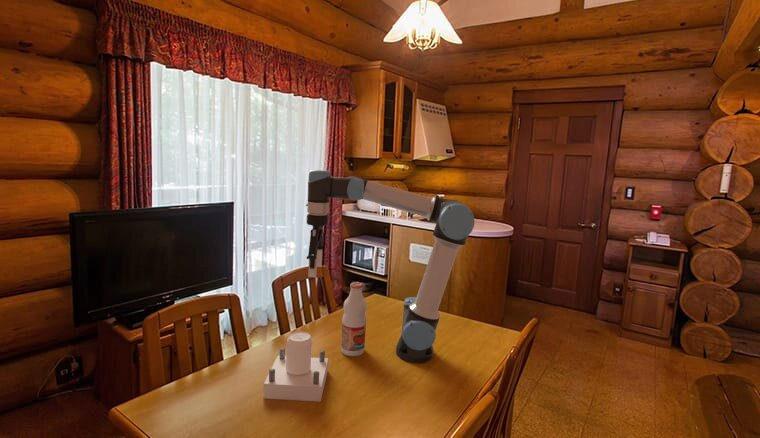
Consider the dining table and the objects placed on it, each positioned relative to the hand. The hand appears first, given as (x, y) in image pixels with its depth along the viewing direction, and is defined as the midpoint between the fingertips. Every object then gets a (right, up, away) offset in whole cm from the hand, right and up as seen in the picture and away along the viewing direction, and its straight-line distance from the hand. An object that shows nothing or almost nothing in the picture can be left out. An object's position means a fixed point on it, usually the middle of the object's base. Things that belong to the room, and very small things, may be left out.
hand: (315, 271), depth 145 cm
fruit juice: (+13, -34, +14) cm, 39 cm away
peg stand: (-4, -37, -11) cm, 38 cm away
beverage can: (-4, -32, -11) cm, 34 cm away
